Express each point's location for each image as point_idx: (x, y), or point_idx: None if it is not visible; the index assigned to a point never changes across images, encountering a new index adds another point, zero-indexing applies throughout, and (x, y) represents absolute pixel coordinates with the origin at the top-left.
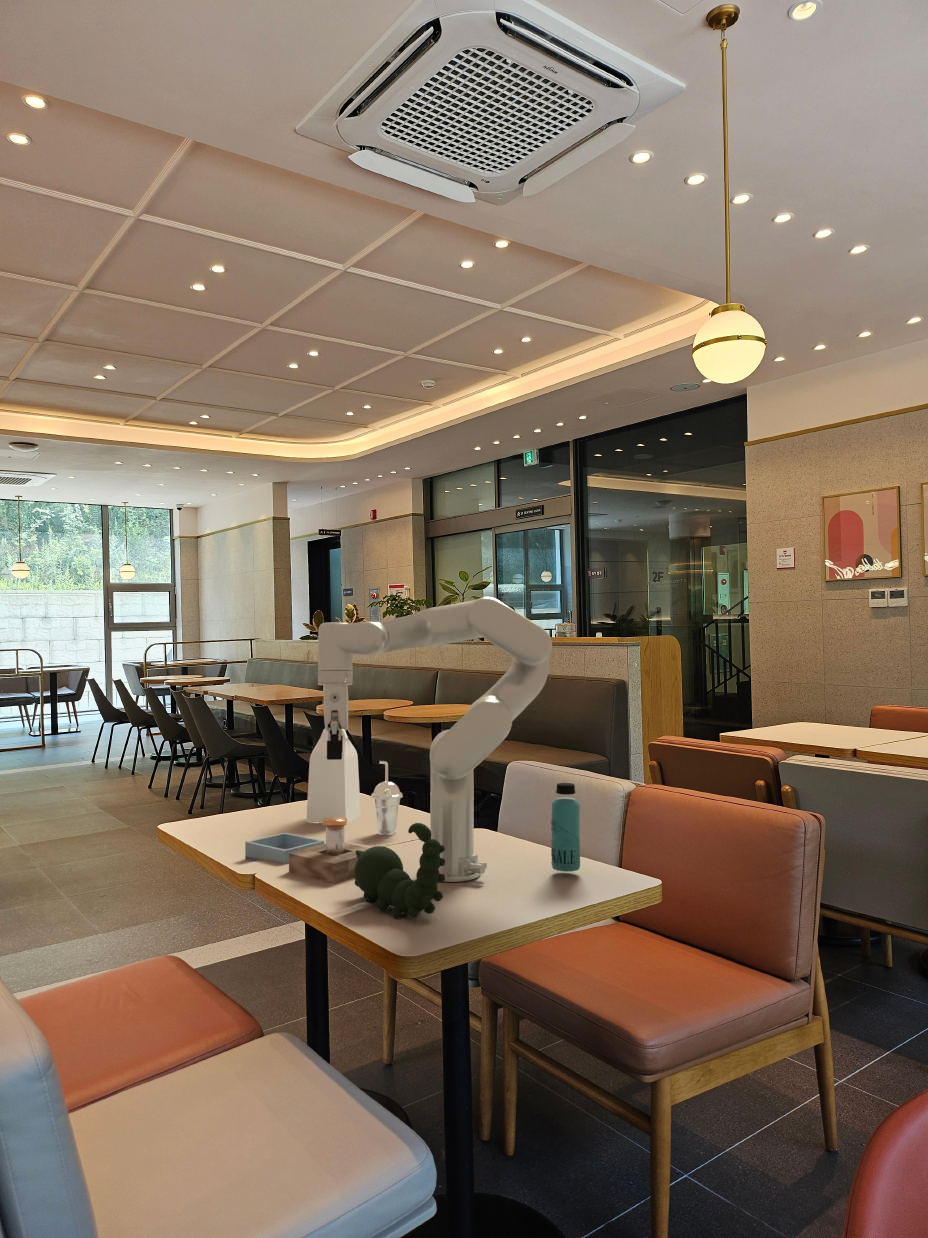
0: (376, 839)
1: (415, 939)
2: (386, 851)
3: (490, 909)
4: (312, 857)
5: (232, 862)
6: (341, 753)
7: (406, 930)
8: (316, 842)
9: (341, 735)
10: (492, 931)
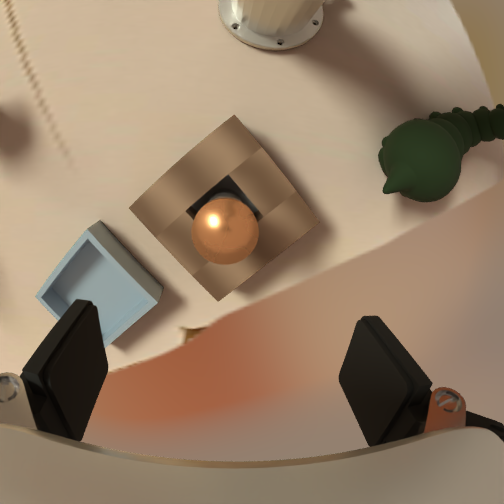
0: (6, 128)
1: (486, 153)
2: (457, 154)
3: (432, 36)
4: (261, 260)
5: (120, 354)
6: (389, 333)
7: (470, 152)
8: (99, 244)
9: (32, 380)
10: (482, 74)
